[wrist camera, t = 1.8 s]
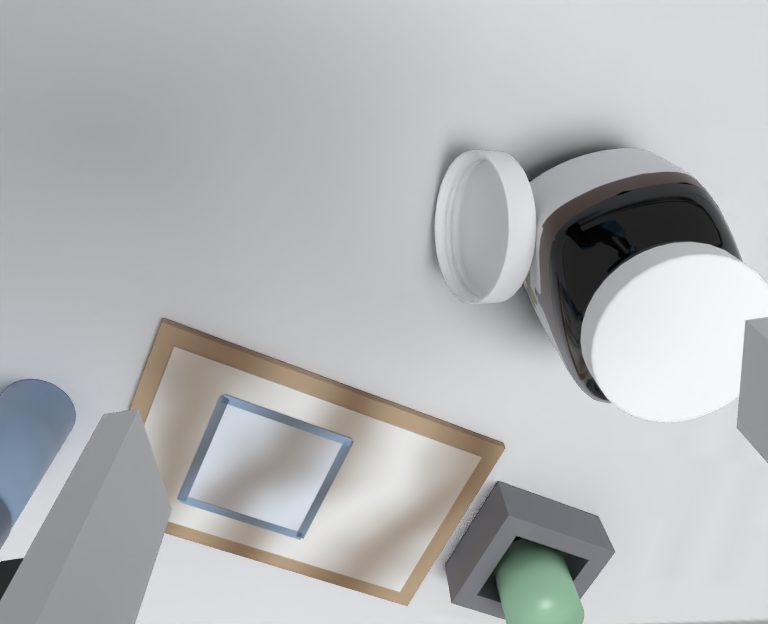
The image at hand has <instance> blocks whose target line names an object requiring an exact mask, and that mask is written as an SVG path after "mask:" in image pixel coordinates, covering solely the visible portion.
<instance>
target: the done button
mask: <svg viewBox="0 0 768 624" xmlns="http://www.w3.org/2000/svg"><path fill="white" fill-rule="evenodd" d="M493 572H494V576H495V580H496V584H497V588H498V592H499V596H500V600H501V604H502V607H503V611H504V615H505V619H506V623H507V624H582V623H583V619H584V610H583V607H582V604H581V601H580V599H579V596H578V593H577V591H576V588H575V586H574V583H573V580H572V578H571V575H570V573H569V570H568V567H567V565H566V562H565V559H564V557H563V554H562V552H561V551H560V550H558V549H555V548H552V547H549V546H546V545H543V544H540V543H537V542H534V541H531V540H528V539H525V538H523V539H519V540H517V541H514V542H512V543H511V545H510V546H509V548H508V549H507V551H506V552H505V554H504V555H503V557H502V558H501V560H500V561H499V563H498V564H497V566H496V567H495V569H494V570H493Z"/></svg>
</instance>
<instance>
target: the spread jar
mask: <svg viewBox="0 0 768 624" xmlns="http://www.w3.org/2000/svg"><path fill="white" fill-rule="evenodd" d="M434 229H435V245H436V253H437V258H438V262H439V266H440V269H441V272H442V275H443V278H444V280H445V282H446V284H447V286H448V288H449V289H450V290H451V292H452V293H453V295H455V296H456V297H457V298H458V299H459V300H460V301H462V302H465V303H467V304H487V303H500V302H503V301H506V300H508V299H509V298H510V297H512V296H513V295H514V294H515V293H516V292H517V291H518V289H519V288H520V287H521V286H522V284H524V286H525V289H526V291H527V294H528V296H529V298H530V300H531V303H532V305H533V307H534V309H535V311H536V313H537V315H538V318H539V320H540V322H541V324H542V325H543V327H544V329H545V331H546V333H547V335H548V337H549V338H550V340H551V342H552V344H553V346H554V347H555V349H556V351H557V352H558V354H559V356H560V358H561V359H562V361H563V363H564V365H565V366H566V368H567V370H568V371H569V373H570V375H571V376H572V378H573V379H574V380H575V382H576V383H577V384H578V386H579V387H580V388H581V390H583V391H584V392H585V393H586V394H587V395H589V396H590V397H591V398H593V399H594V400H597V401H600V402H605V403H612V404H614V405H615V406H616V407H617V408H618V409H620V410H622V411H624V412H625V413H627V414H629V415H631V416H634V417H637V418H640V419H643V420H646V421H655V422H681V421H685V420H690V419H694V418H698V417H701V416H704V415H706V414H709V413H711V412H714V411H716V410H718V409H719V408H721V407H723V406H725V405H726V404H728V403H730V402H732V401H733V400H734V399H735V398H737V397H738V396H739V393H740V380H741V368H742V356H743V343H744V331H745V320H750V319H757V318H764V317H768V284H767V283H766V282H765V281H764V280H763V279H762V277H761V276H760V275H759V274H758V273H757V272H756V271H755V270H753V269H752V268H750V267H749V266H747V265H746V264H745V263H743V261H742V258H741V256H740V253H739V250H738V247H737V245H736V242H735V240H734V237H733V235H732V233H731V231H730V229H729V227H728V225H727V223H726V221H725V219H724V217H723V215H722V213H721V211H720V209H719V207H718V206H717V204H716V203H715V201H714V200H713V198H712V197H711V196H710V194H709V193H708V192H707V191H706V189H705V188H704V187H703V186H702V185H701V184H700V183H699V182H698V181H697V180H696V179H695V178H694V177H693V176H691V175H690V174H689V173H687V172H686V171H684V170H683V169H681V168H679V167H678V166H676V165H674V164H672V163H671V162H669V161H667V160H665V159H663V158H662V157H660V156H658V155H656V154H654V153H652V152H650V151H646V150H642V149H637V148H620V149H610V150H603V151H598V152H593V153H589V154H585V155H582V156H579V157H576V158H573V159H571V160H568V161H566V162H563V163H561V164H559V165H557V166H555V167H553V168H551V169H549V170H547V171H546V172H544V173H542V174H541V175H539V176H537V177H536V178H535V179H533V180H532V181H531V182H529V181H528V178H527V176H526V174H525V172H524V170H523V169H522V167H521V166H520V164H519V163H518V162H517V161H516V160H515V159H514V158H513V157H512V156H511V155H509V154H507V153H505V152H500V151H477V150H470V151H467V152H464V153H462V154H461V155H459V156H458V157H457V158H455V160H454V161H453V162H452V163H451V165H450V166H449V168H448V170H447V172H446V173H445V175H444V178H443V181H442V183H441V186H440V189H439V193H438V197H437V203H436V210H435V224H434Z"/></svg>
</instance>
